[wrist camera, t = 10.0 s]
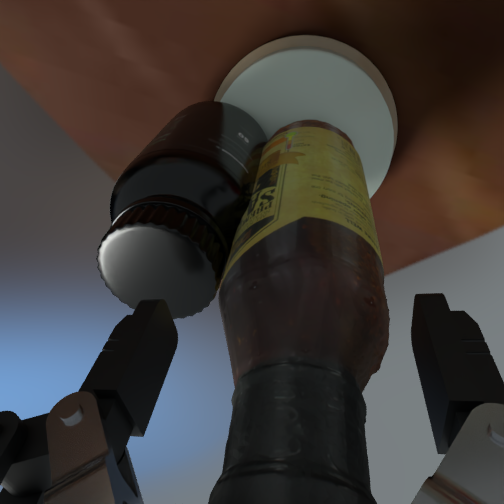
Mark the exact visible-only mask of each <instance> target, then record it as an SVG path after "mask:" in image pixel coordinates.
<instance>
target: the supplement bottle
mask: <svg viewBox="0 0 504 504" xmlns="http://www.w3.org/2000/svg"><path fill="white" fill-rule="evenodd" d="M267 142H268V139H267V137H266V135H265V133H264V131H263V129H262V128H261V126H260V125H259V124H258V123H257V121H256V120H255V119H254V118H253V117H252V116H250V115H249V114H248V113H247V112H245V111H244V110H242V109H240V108H238V107H236V106H234V105H231V104H228V103H224V102H218V101H205V102H199V103H196V104H193V105H191V106H188V107H187V108H185V109H183V110H182V111H181V112H179V113H178V114H177V115H176V116H175V117H174V118H173V119H172V120H171V121H170V122H169V123H168V124H167V125H166V126H165V127H164V128H163V129H162V130H161V131H160V132H159V133H158V134H157V136H156V137H155V138H154V139H153V140H152V141H151V142H150V143H149V144H148V145H147V146H146V147H145V148H144V149H143V150H142V152H141V153H140V154H139V155H138V156H137V157H136V158H135V159H134V160H133V161H132V162H131V163H130V164H129V166H128V167H127V168H126V169H125V170H124V171H123V173H122V174H121V175H120V177H119V178H118V180H117V182H116V184H115V186H114V188H113V191H112V195H111V199H110V218H111V223H112V225H111V227H110V229H109V230H108V231H107V233H106V234H105V235H104V237H103V238H102V240H101V244H100V245H99V247H98V256H97V258H96V259H97V262H98V270H99V271H100V273H101V278H102V279H103V280H104V281H105V285H106V287H108V288H109V289H110V290H111V292H112V294H113V295H115V296H116V297H118V298H119V300H120V301H121V302H123V303H125V304H127V305H128V306H129V307H130V308H132V309H136V307H137V305H138V303H139V302H140V301H141V300H149V299H164V300H165V301H166V303H167V305H168V308H169V310H170V313H171V316H172V318H173V319H176V318H185V317H187V316H193V315H194V314H196V313H199V312H202V310H203V308H205V307H208V306H209V304H210V302H211V301H212V300H213V299H214V298H215V296H216V293H217V290H218V289H219V286H220V282H221V280H222V278H223V276H224V271H225V267H226V264H227V261H228V258H229V254H230V251H231V247H232V244H233V239H234V237H235V233H236V230H237V228H238V226H239V225H240V221H241V218H242V217H243V215H244V214H245V212H246V210H247V208H248V206H249V203H250V200H251V197H252V193H253V189H254V185H255V181H256V177H257V173H258V168H259V164H260V160H261V156H262V152H263V148H264V147H265V145H266V144H267Z"/></svg>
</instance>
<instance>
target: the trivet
mask: <svg viewBox="0 0 504 504" xmlns="http://www.w3.org/2000/svg"><path fill="white" fill-rule="evenodd" d="M214 101H218V102H224V103H228V104H231V105H234V106H236V107H238V108H240V109H242V110H244V111H245V112H247V113H248V114H249V115H250V116H252V117H253V118H254V119H255V120H256V121H257V123H258V124H259V125H260V126H261V128H262V129H263V131H264V133H265V135H266V137H267V139H268V140H269V139H270V138H271V137H272V136H273V135H274V134H275V132H276V131H278V130H279V129H280V128H282V127H284V126H287V125H288V124H291V123H293V122H296V121H301V120H319V121H322V122H327V123H329V124H331V125H333V126H334V127H337V128H338V129H340V130H341V131H342V132H344V133H346V134H347V136H348V137H349V138H350V139H351V141H352V143H353V145H354V148H355V150H356V151H357V152H358V154H359V156H360V159H361V162H362V165H363V170H364V174H365V179H366V184H367V188H368V193H369V198H371V197H372V196H373V194H374V193H375V192H376V190H377V189H378V188H379V186H380V185H381V183H382V181H383V179H384V178H385V176H386V173H387V171H388V168H389V166H390V162H391V159H392V156H393V153H394V149H395V145H396V140H397V132H398V122H397V112H396V106H395V103H394V99H393V96H392V93H391V91H390V89H389V87H388V85H387V83H386V81H385V79H384V77H383V76H382V75H381V73H380V72H379V70H378V69H377V67H376V66H375V65H374V64H373V63H372V62H371V61H370V60H369V59H368V58H367V57H366V56H365V55H363V54H362V53H361V52H359V51H358V50H357V49H355V48H353V47H351V46H350V45H348V44H346V43H344V42H341V41H339V40H336V39H333V38H330V37H325V36H320V35H308V34H303V35H291V36H287V37H282V38H278V39H275V40H273V41H270V42H268V43H265V44H263V45H262V46H260V47H258V48H256V49H254V50H253V51H252V52H250V53H249V54H248V55H246V56H245V57H244V58H242V59H241V60H240V61H239V62H238V63H237V64H236V65H235V67H234V68H233V69H232V70H231V71H230V73H229V74H228V75H227V77H226V78H225V79H224V81H223V82H222V84H221V86H220V88H219V90H218V91H217V94H216V97H215V99H214Z"/></svg>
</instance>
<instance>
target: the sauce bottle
mask: <svg viewBox="0 0 504 504" xmlns="http://www.w3.org/2000/svg"><path fill="white" fill-rule="evenodd" d="M219 307H220V312H221V317H222V322H223V327H224V331H225V336H226V341H227V345H228V351H229V355H230V361H231V367H232V373H233V379H234V385H235V390H234V393H233V396H232V405H233V411H232V419H231V424H230V428H229V436H228V440H227V443H226V449H225V458H224V464H223V471H222V475H221V476H220V478H219V479H218V481H217V483H216V484H215V486H214V488H213V490H212V492H211V494H210V498H209V502H208V504H377V502H376V501H375V499H374V497H373V496H372V494H371V489H370V476H369V466H368V456H367V449H366V448H367V447H366V438H365V426H364V424H365V422H366V404H365V401H364V398H363V395H362V392H363V390H364V388H365V386H366V385H367V383H368V381H369V379H370V377H371V375H372V374H374V373H376V372H377V371H378V370H379V369H380V364H381V362H382V359H383V356H384V354H385V352H386V350H387V347H388V339H389V321H390V318H389V309H388V306H387V299H386V296H385V291H384V268H383V263H382V258H381V253H380V248H379V243H378V239H377V234H376V229H375V224H374V219H373V214H372V209H371V204H370V198H369V193H368V188H367V184H366V179H365V174H364V170H363V165H362V162H361V159H360V156H359V154H358V152H357V151H356V150H355V148H354V145H353V143H352V141H351V139H350V138H349V137H348V136H347V134H346V133H344V132H342V131H341V130H340V129H338V128H337V127H334V126H333V125H331V124H329V123H327V122H322V121H319V120H301V121H296V122H293V123H291V124H288V125H287V126H284V127H282V128H280V129H279V130H278V131H276V132H275V134H274V135H273V136H272V137H271V138H270V139H269V140H268V142H267V144H266V145H265V147H264V148H263V152H262V156H261V160H260V164H259V168H258V173H257V177H256V181H255V185H254V189H253V193H252V197H251V200H250V203H249V206H248V208H247V210H246V212H245V214H244V215H243V217H242V218H241V221H240V225H239V226H238V228H237V230H236V233H235V237H234V239H233V244H232V247H231V251H230V254H229V258H228V261H227V264H226V267H225V271H224V276H223V280H222V283H221V287H220V291H219Z"/></svg>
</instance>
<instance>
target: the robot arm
mask: <svg viewBox="0 0 504 504" xmlns="http://www.w3.org/2000/svg"><path fill="white" fill-rule="evenodd" d="M411 341H412V347H413V353H414V357H415V361H416V365H417V369H418V373H419V378H420V381H421V386H422V390H423V394H424V398H425V402H426V406H427V411H428V415H429V419H430V423H431V427H432V431H433V436H434V439H435V444H436V448H437V452H438V454H446V455H445V457H444V458H443V460H442V462H441V463H440V465H439V467H438V468H437V470H436V472H435V473H434V475H433V476H432V477H428V478H427V479H426V481H425V482H424V483H423V485H422V486H421V488H420V490H419V491H418V493H417V495H416V496H415V498H414V500H413V501H412V503H411V504H504V382H503V380H502V378H501V376H500V373H499V371H498V369H497V366H496V364H495V362H494V359H493V357H492V355H490V351H489V348H488V346H487V344H486V342H485V340H484V337H483V334H482V332H481V330H480V328H479V325H478V324H477V323H476V322H475V321H474V320H473V319H472V318H471V317H470V316H469V315H468V314H467V313H466V312H465V311H450V309H449V306H448V303H447V301H446V298H445V296H444V295H443V294H442V293H434V294H416V295H415V299H414V307H413V317H412V327H411ZM177 344H178V333H177V329H176V326H175V324H174V321H173V318H172V316H171V313H170V310H169V308H168V305H167V303H166V301H165V300H164V299H149V300H141V301H140V302H139V303H138V305H137V307H136V309H135V311H134V313H133V315H127V316H126V317H125V318H123V319H122V320H121V321H120V322H119V323H118V324H117V325H116V326H115V328H114V330H113V332H112V333H111V335H110V337H109V338H108V341H107V342H106V344H105V345H104V347H103V349H102V350H103V351H102V352H101V353H100V354H99V356H98V358H97V360H96V361H95V363H94V365H93V367H92V368H91V370H90V372H89V374H88V375H87V377H86V379H85V381H84V382H83V384H82V386H81V388H80V389H79V391H78V392H75V393H72V394H70V395H68V396H66V397H64V398H63V399H61V400H60V401H59V402H58V403H57V404H56V405H55V406H54V407H53V408H52V410H51V411H50V413H47V414H43V415H40V416H36V417H32V418H29V419H25V420H21V419H20V418H19V417H18V416H17V415H16V413H14V412H11V411H2V412H0V485H2V486H3V489H2V491H1V492H0V504H144V502H143V499H142V496H141V492H140V489H139V485H138V483H137V479H136V475H135V472H134V468H133V465H132V462H131V458H130V455H129V451H128V449H127V447H126V445H127V443H128V440H129V437H130V436H138V437H139V436H140V437H143V436H144V434H145V431H146V428H147V426H148V423H149V420H150V418H151V415H152V412H153V410H154V407H155V404H156V402H157V399H158V396H159V394H160V391H161V388H162V386H163V383H164V380H165V377H166V375H167V372H168V370H169V367H170V364H171V362H172V359H173V356H174V354H175V350H176V348H177Z"/></svg>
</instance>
